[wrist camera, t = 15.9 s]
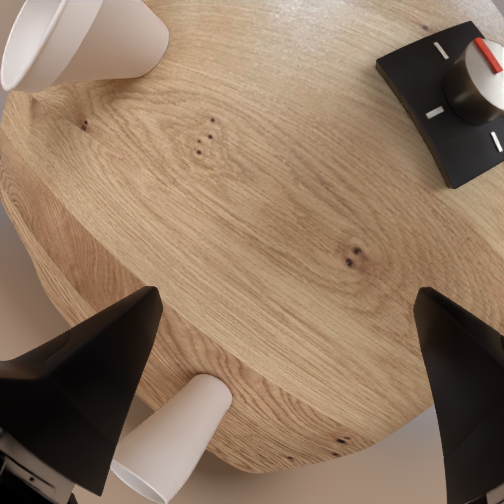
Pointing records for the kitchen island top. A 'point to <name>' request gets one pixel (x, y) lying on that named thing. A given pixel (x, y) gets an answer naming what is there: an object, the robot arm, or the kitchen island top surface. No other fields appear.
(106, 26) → the cup
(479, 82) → the hob knob
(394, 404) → the kitchen island top surface
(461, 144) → the hob panel
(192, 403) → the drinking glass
